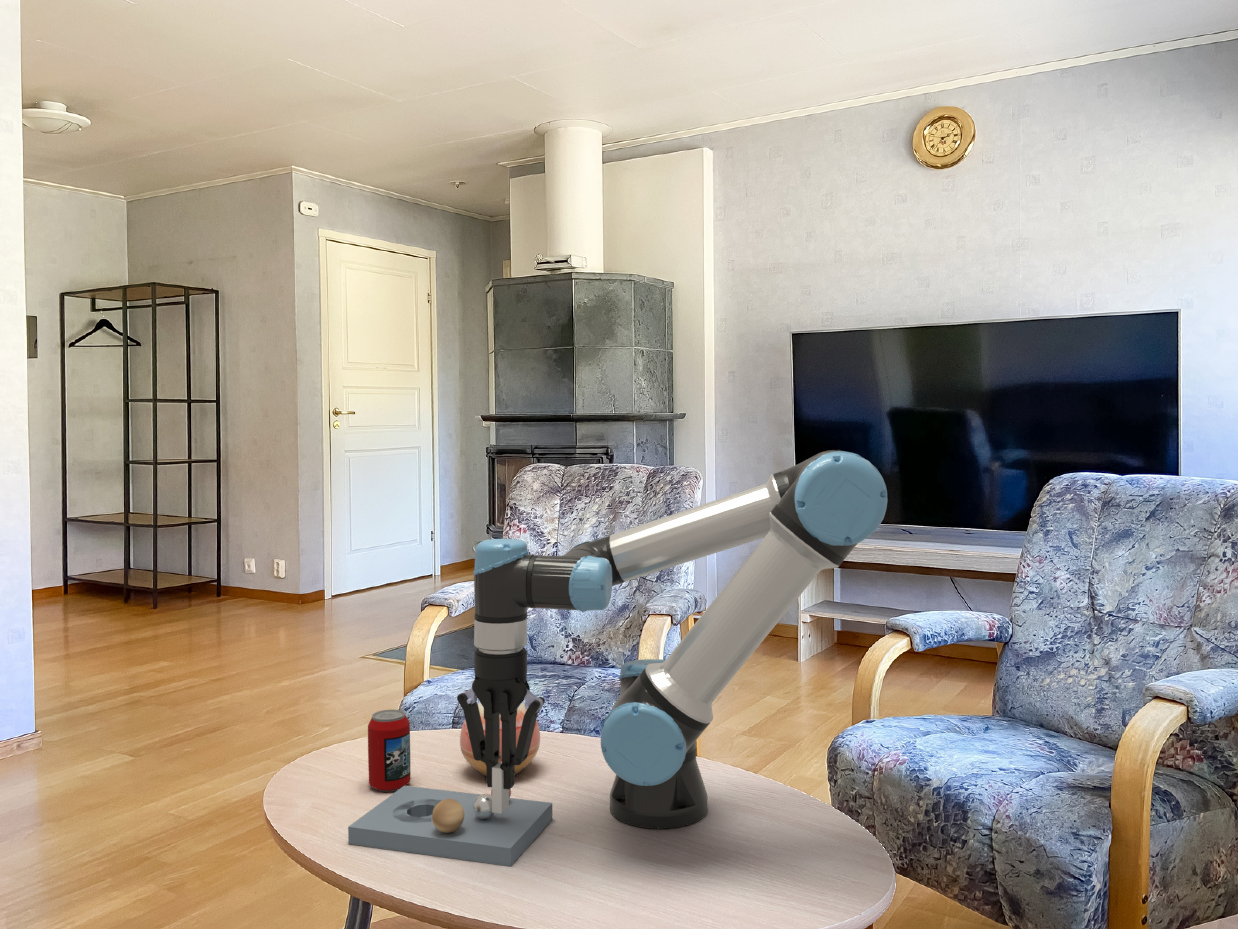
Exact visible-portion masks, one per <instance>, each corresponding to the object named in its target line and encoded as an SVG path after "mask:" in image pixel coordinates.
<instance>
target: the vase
mask: <svg viewBox="0 0 1238 929" xmlns="http://www.w3.org/2000/svg"><path fill="white" fill-rule="evenodd" d="M477 704H478V707H479V712H480V716H481V721H482V725H483V730H484V734H485V719H484V708H483V706H482V704H481V703H480V702H477ZM526 711H527V709H525V702H522V703H521V704H520V706H519V707H518V708H517V716H516V747H517V743H518V739H519V735H520V731H521V726H522V722H523V718H524V715H525V712H526ZM540 744H541V731H540V726H539V723H538V721H537V719H536V724H535V728H534V732H533V736H532V740H531V745H530V749H529V753H528V757H527V759H526V760H525V761H523V762H522V763H521V764H520V765H515V776H516V775H517V774H519V773H520V772H522V771H523V770H524V768H526V767H527V766H528V765H530V763H532V761H533V760H534V758H536V756H537V753H538V751H539V750H540V749H539V748H540ZM459 746H460V751H461V754H462V756H463V758H464V759H465V760H466V762H467V763H468V764H469V766H470V767H472V768H473V769H475V770H476V771H477V772H478V773H480V774H481V775H483V777H487V776H486V764H485V763H484V762H482V761H480V760H479V761H477V760H475V759H474V756H473V752H472V747H471V743H470V738H469V734H468V729H467V725H466V720H465V719H464V720H463V723H462V726H461V730H460V735H459ZM501 755H502V721H501V720H500V756H501ZM500 761H501V762H502V756H501V758H500V759H499V760H498V762H500Z"/></svg>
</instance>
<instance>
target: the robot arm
mask: <svg viewBox="0 0 1238 929" xmlns="http://www.w3.org/2000/svg"><path fill="white" fill-rule="evenodd" d="M887 507H888V490H887V485H886V483H885V480H884V478H883V475H881V473H880V471H879V470H878V468H877V467H876V466H875V465H873V464H872V463H871V462H870V461H869V460H868V459H865V458H864V457H862V456H861V455H859V454H858V453H854V452H850V451H846V450H841V449H832V450H831V449H830V450H826V451H822V452H819V453H817V454H815V455H813V456H811V457H809V458H808V459H805V460H803V461H802V462H800V463H798V464H795V465H793V466H791V467H788V468H787V469H784V470H781V471H778V472H775V473H772V474H770V476H769V478H768V480H767V481H766V482H765V483H764V484H761V485H758V486H754V487H751V488H749V489H745V490H743V491H740V492H737V493H734V494H731V495H727V496H724V497H721V498H718V499H716V500H712V501H709V502H706V503H703V504H700V505H697V506H694V507H692V508H688V509H685V510H681V511H680V512H676V513H673V514H670V515H668V516H664V517H661V518H658V519H655V520H652V521H650V522H646V523H643V524H640V525H637V526H634V527H631V528H628V529H625V530H622V531H619V532H616V533H613V534H611V535H608V536H604V537H601V538H598V539H595V540H587V541H583V542H581V543H578V544H576V545H574V546H573V547H572V548H571V549H570V550H569V551H567V552H565V553H564V554H563V555H539V554H538V555H535V554H530V552H529V549H528V543H527V542H525V541H524V540H522V539H513V538H494V539H492V538H491V539H485V540H482V541H481V542H479V543H478V544H477V545H476V547H475V550H474V551H475V552H474V568H473V569H474V571H473V574H472V576H473V584H474V586H473V590H474V593H473V595H474V597H473V598H474V625H473V626H474V629H473V630H474V631H473V633H474V634H473V645H474V647H475V648H476V649H475V651H473V653H474V654H473V655H474V656H473V661H474V662H473V664H474V665H473V666H474V669H473V671H474V679H473V681H472V683H471V688H468V689H465V690H464V691H462V692H461V693H459V694H458V695H457V696H456V699H457V702H458V704H459V705H460V707H461V709H462V711H463V714H464V720H466V725H467V729H468V734H469V738H470V743H471V747H472V752H473V756H474V759H475V760H477V761H479V760H480V761H482V762H484V763H485V764H486V776H485V777H486V781H485V782H486V786H487V788H491V790H492V812H493V813H500V814H502V813H503V812H504V811H505V810H506V809H507V808H508V807H509V790H510V789H513V787H514V785H515V782H516V779H515V777H516V775H515V765H520V764H521V763H522V762H523V761H525V760H526V759H527V757H528V753H529V749H530V745H531V740H532V736H533V732H534V728H535V724H536V720H537V719H538V715H539V712H540V711H541V709H542V708H543V706H544V705H545V702H546V700H545V698H544V697H543V696H537V695H535V694H534V693H532V691H530V690H531V687H530V684H529V682H528V680H527V674H528V650H527V649H526V648H525V647H526V646H527V644H528V609H546V610H547V609H548V610H561V611H562V610H564V611H565V610H566V611H579V612H588V611H603V610H605V609H606V608H608V606H609V605H610V601H611V598H612V593H613V591H612V590H613V587H615V586H618V585H620V584H623V583H626V582H628V581H631V580H635V579H639V578H642V577H644V576H647V575H651V574H654V573H657V572H660V571H663V570H667V569H669V568H673V567H676V566H680V565H682V564H685V563H688V562H692V561H695V560H698V559H701V558H705V557H708V556H710V555H713V554H717V553H720V552H723V551H727V550H729V549H730V550H731V549H732V548H733V549H734V548H735V547H739V546H742V545H745V544H749V543H752V542H754V541H758V540H761V539H762V540H761V541H760V542H759V544H758V545H757V546H756V547H755V548H754V549H753V551H752V552H751V553H750V555H748V557H747V558H746V560H745V561H744V562H743V564H742V565H741V566H740V567H739V568H738V570H737V571H736V572H735V573H734V574H733V576H731V578H730V580H729V581H728V582H727V583H726V585H725V586H723V588H722V589H721V591H719V593H718V595H716V597H715V598H714V600H712V602H711V603H710V604H709V606H708V607H707V608H706V609H705V611H704V612H703V613H702V615H701V616H699V618H698V619H697V621H696V622H694V624H693V626H692V627H691V628H690V629H689V630H688V632H687V633H686V634H685V635H684V637H683V638H682V639H681V640H680V641H679V643H678V644H677V646H675V648H674V649H673V650H672V651H671V653H670V654H669V655H668V657H667V658H666V659H658V658H656V659H655V658H653V659H651V658H650V659H647V658H646V659H635V660H628V661H626V662H624V663H623V664H622V665H621V667H620V673H619V677H618V680H619V682H620V689H619V690H620V693H619V697H617V699H616V701H615V703H614V705H613V707H612V708H611V711H610V712H609V713H608V714H607V716H606V717H605V719H604V720H603V723H602V726H601V734H600V748H601V753H602V756H603V758H604V760H605V762H606V765H607V766H608V767H609V769H611V771H612V772H613V773H614V774H615V777H614V780H613V783H612V787H611V789H610V792H609V811H610V813H611V814H612V816H613V817H614V818H616V819H617V820H619V821H620V822H623V823H625V824H628V825H632V826H635V827H640V828H645V829H674V828H675V829H676V828H680V827H685V826H684V825H686V826H688V825H692V824H694V822H695V823H697V822H699V821H700V820H702V819H703V818H704V817H705V816H706V815H707V813H708V811H709V810H708V808H709V807H708V804H709V802H708V798H709V797H708V792H707V788H706V786H705V783H704V780H703V777H702V774H701V770H700V767H699V765H698V762H697V740H698V739H699V737H700V736H701V735H702V734H703V732H704V731H705V730H706V729H707V727H709V725H710V724H711V723H712V722H713V719H714V713H713V702H714V701H715V700H716V699H717V697H719V695H720V694H721V693H722V691H723V690H724V689H725V688H726V687H727V685H728V684H729V683H730V681H731V680H733V678H734V677H735V676H736V674H737V673H738V672H739V670H740V669H741V668H743V666H744V665H745V664H746V662H747V661H748V660H749V659H750V657H751V656H752V655H753V654H754V652H755V651H756V650H757V649H758V647H759V646H760V645H761V644H762V642H764V640H765V639H766V637H767V636H768V635H770V633H771V631H772V630H773V629H774V628H775V626H776V625H777V624H778V623H779V622H780V620H781V619H782V618H783V617H784V616H785V615H786V614H787V612H789V610H790V609H791V608H792V606H793V605H794V604H795V602H796V601H797V600H798V598H799V597H800V596H801V595H802V594H803V593H804V591H805V590H807V587H808V586H809V585H810V584H811V582H813V581H814V579H815V578H816V577H817V575H819V573H820V572H821V571H823V570H830V569H837V568H839V567H840V566H841V564H842V563H843V562H844V560H846V558H847V557H848V556H849V555H850V553H851V552H852V551H853V550H854V548H856V546H857V545H858V544H859V543H861V542H863V541H864V540H866V539H868V538H869V537H870V536H871V535H873V534H874V533H876V531H877V529H878V528H879V527H880V525H881V523H882V522H883V520H884V518H885V515H886V512H887ZM477 701H479V703H481V704H482V706H483V708H484V719H485V734H484V730H483V725H482V721H481V716H480V712H479V707H478V702H477ZM524 701H525V702H524ZM521 703H524V704H525V709H527V711H526V712H525V715H524V718H523V722H522V726H521V731H520V735H519V739H518V743H517V747H516V716H517V708H518V707H519V706H520V704H521ZM500 720H501V721H502V755H501V756H502V762H501V761H500V762H498V760H499V759H500V758H501V756H500ZM696 821H697V822H696Z"/></svg>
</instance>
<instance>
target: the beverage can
mask: <svg viewBox="0 0 1238 929" xmlns="http://www.w3.org/2000/svg"><path fill="white" fill-rule="evenodd" d="M410 726H411V723H410V720H409V719H408V717H407V715H406V712H405V711H404V710H401V709H383V710H379V711H376V712H374V713H373V714H371V718H370V721H369V722H368V725H367V756H368V759H367V762H368V768H367V769H368V785H369V786H370V787H371V788H373V789H375V790H377V791H378V790H379V792H384V791H385V793H387V792H396V791H398V790H399V789H400V788H402V787H403V786H408V784H409V783H410V782H411V778H412V777H411V728H410Z"/></svg>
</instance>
